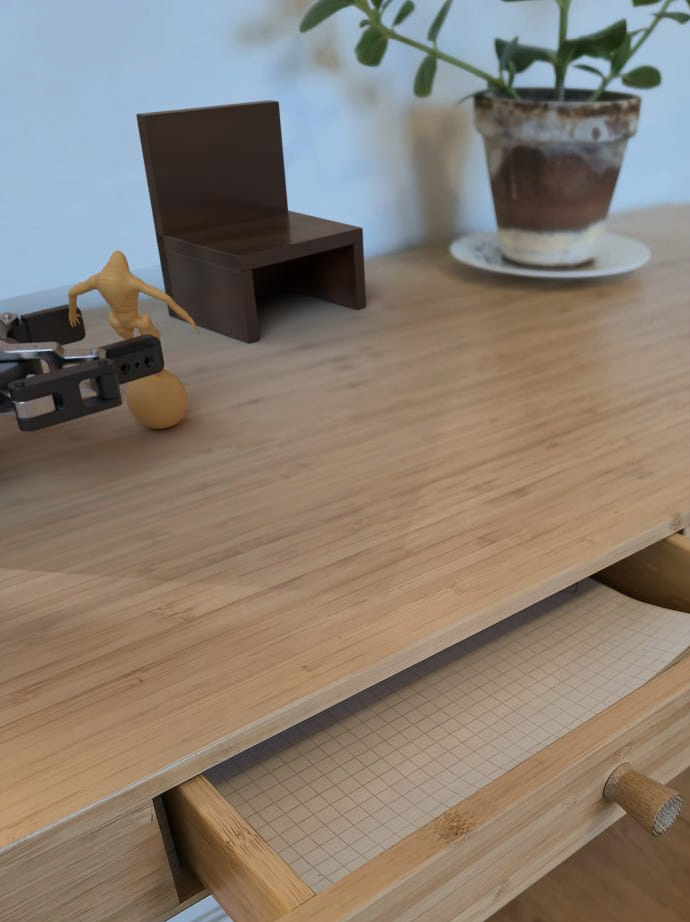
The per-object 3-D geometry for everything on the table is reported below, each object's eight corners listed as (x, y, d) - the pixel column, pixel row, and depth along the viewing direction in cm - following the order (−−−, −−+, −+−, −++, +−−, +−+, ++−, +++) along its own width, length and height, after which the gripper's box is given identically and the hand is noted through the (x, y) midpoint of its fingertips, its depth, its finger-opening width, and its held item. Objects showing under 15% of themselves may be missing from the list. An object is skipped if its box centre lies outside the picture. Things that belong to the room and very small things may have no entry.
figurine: (229, 418, 67) (205, 239, 60) (201, 454, 62) (170, 264, 55) (115, 411, 68) (78, 232, 61) (78, 446, 63) (33, 256, 56)
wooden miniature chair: (168, 315, 86) (135, 113, 76) (286, 284, 94) (270, 99, 85) (249, 343, 80) (223, 129, 71) (366, 307, 89) (357, 113, 80)
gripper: (-115, 373, 44) (178, 298, 54) (-237, 307, 51) (42, 252, 61) (-64, 516, 48) (198, 422, 59) (-184, 438, 55) (68, 366, 66)
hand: (118, 335), depth 60 cm, fingers open, 8 cm apart
